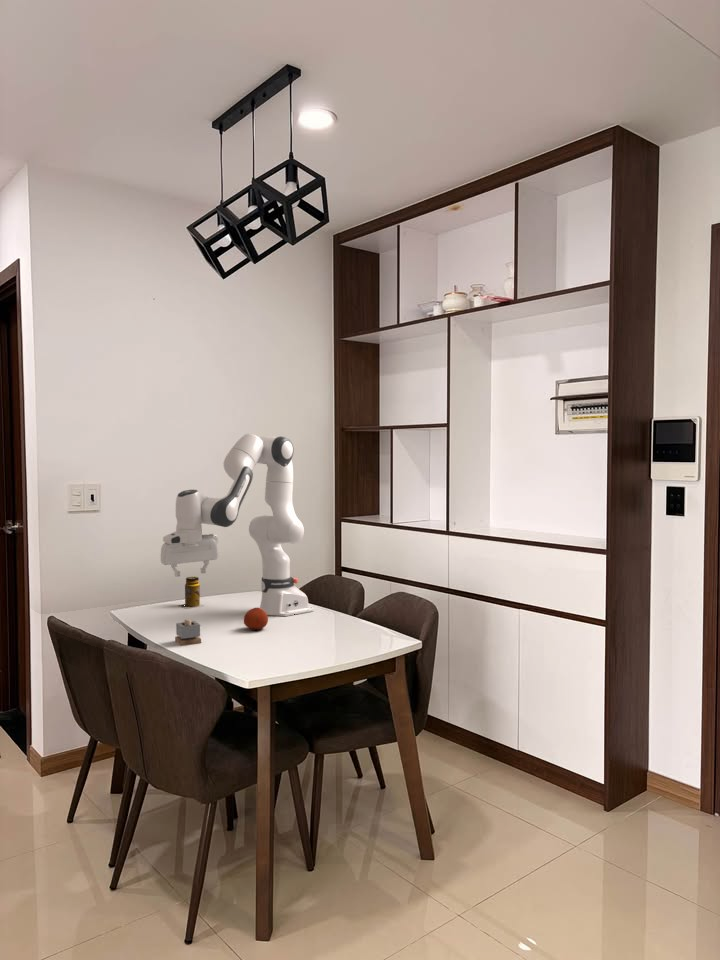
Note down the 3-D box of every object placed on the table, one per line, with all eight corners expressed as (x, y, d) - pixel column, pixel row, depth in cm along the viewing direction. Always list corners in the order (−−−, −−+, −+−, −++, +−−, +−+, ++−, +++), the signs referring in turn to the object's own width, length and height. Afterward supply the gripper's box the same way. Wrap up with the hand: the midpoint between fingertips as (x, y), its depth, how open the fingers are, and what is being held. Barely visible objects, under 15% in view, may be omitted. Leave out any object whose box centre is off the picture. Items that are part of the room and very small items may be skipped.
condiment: (203, 605, 311) (203, 577, 311) (186, 608, 305) (185, 580, 305) (194, 603, 316) (194, 575, 316) (177, 606, 310) (176, 577, 310)
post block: (194, 638, 259) (194, 617, 259) (201, 643, 253) (201, 621, 253) (175, 640, 255) (174, 619, 255) (181, 645, 249) (180, 623, 249)
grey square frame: (194, 632, 259) (194, 620, 258) (200, 636, 253) (200, 624, 253) (176, 634, 255) (176, 623, 255) (181, 638, 250) (181, 627, 250)
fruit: (241, 627, 275) (241, 606, 274) (264, 625, 278) (264, 604, 277) (246, 633, 266) (246, 611, 266) (270, 631, 270) (270, 609, 269)
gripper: (214, 532, 269) (215, 569, 270) (158, 537, 258) (159, 576, 259) (220, 534, 263) (221, 572, 264) (163, 539, 253) (165, 579, 254)
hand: (190, 574), depth 262 cm, fingers open, 8 cm apart
